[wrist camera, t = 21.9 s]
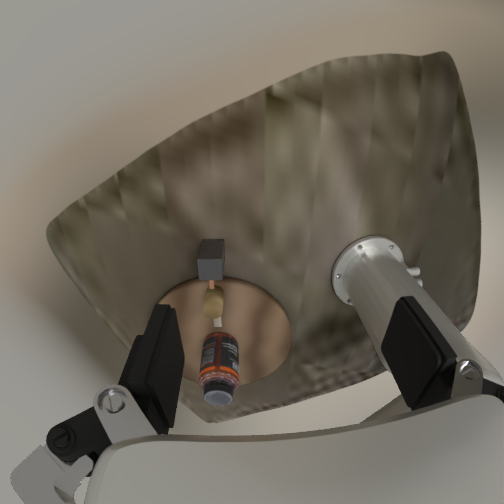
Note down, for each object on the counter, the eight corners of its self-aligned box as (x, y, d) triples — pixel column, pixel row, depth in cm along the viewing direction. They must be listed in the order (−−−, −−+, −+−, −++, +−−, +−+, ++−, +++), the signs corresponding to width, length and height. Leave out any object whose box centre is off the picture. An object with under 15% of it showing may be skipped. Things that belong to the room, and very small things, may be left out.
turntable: (296, 275, 42) (304, 300, 37) (284, 377, 53) (288, 402, 47) (139, 276, 42) (125, 300, 36) (165, 376, 52) (160, 401, 47)
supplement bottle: (198, 349, 46) (190, 403, 36) (210, 326, 44) (204, 381, 34) (230, 359, 47) (229, 413, 37) (245, 337, 45) (246, 393, 35)
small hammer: (224, 239, 40) (221, 259, 35) (225, 268, 42) (223, 291, 37) (202, 239, 40) (197, 259, 35) (205, 268, 42) (200, 291, 37)
